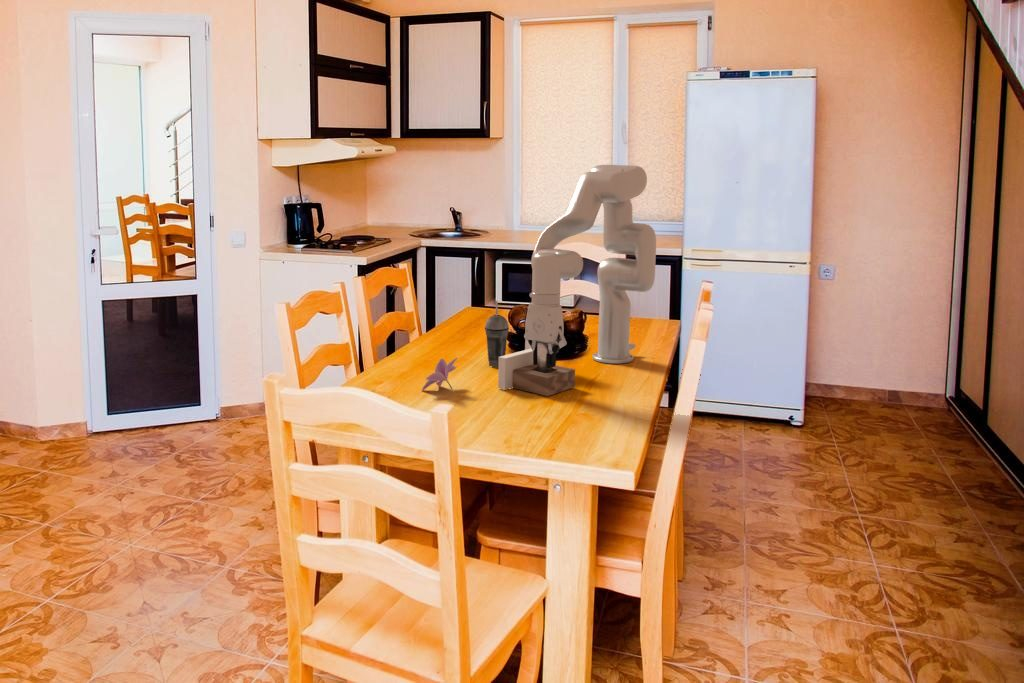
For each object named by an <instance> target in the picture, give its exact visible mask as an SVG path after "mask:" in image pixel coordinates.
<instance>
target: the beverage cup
mask: <svg viewBox="0 0 1024 683" xmlns="http://www.w3.org/2000/svg"><path fill="white" fill-rule="evenodd" d="M498 312H499V310H498V300H495V314H492V315H491V316H489V317H488V318H487V320H486V322H485V325H484V330H485V332H484V333H485V335H486V346H487V347H486V348H487V361H488V366H489V367H490V366H492V367H491V368H494V367H498V364H499V357H500V356H504V355H506V351H507V342H508V341H507V340H508V335H509V330H510V327H509V323H508V320H507V318H506V317H505V316H503V315H501V314H499V313H498Z"/></svg>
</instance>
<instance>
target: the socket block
mask: <svg viewBox="0 0 1024 683" xmlns="http://www.w3.org/2000/svg"><path fill="white" fill-rule="evenodd" d="M575 382H576V369H574V368H570V367H565V366H561V365H556V366H555V367H552V371H551V372H549V373H542V372H537V365H533V364H532V365H529V366H525V367H522V368H518V369H515V370H513V388H512V389H517V390H521V391H526V392H529V393H534V394H538V395H542V396H546V397H548V396H552V395H555V394H558V393H561V392H564V391H566V390H567V391H568V390H570V389H574V388H575V386H576V385H575V384H576V383H575Z"/></svg>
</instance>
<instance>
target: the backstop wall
mask: <svg viewBox="0 0 1024 683" xmlns="http://www.w3.org/2000/svg"><path fill="white" fill-rule="evenodd" d="M532 364H533V350H532V349H527V350H525V349H524V350H521V351H516V352H511V353H508V354H505V355H504V356H500V357H499V364H498V368H497V369H498V372H497V373H498V374H497V375H498V376H497V380H498V382H497V386H498V387H497V389H498V388H500V389H504V390H506V389H509V388H512V387H513V370H515V369H518V368H522V367H525V366H529V365H532ZM500 389H499V390H500ZM512 389H513V388H512ZM504 390H503V391H504ZM509 390H510V389H509ZM506 391H507V390H506Z"/></svg>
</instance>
